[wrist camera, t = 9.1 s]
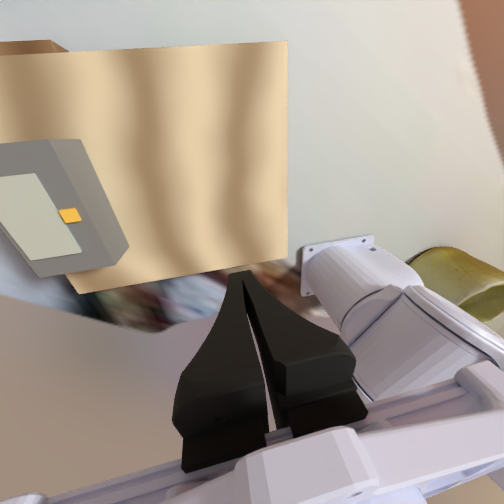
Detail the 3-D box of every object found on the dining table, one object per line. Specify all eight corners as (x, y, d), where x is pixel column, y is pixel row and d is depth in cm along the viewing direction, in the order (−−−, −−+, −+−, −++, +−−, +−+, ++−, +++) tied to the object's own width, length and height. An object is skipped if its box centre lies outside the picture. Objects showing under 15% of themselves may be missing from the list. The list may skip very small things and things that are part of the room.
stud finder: (80, 139, 13) (44, 139, 10) (129, 246, 17) (113, 267, 14) (-6, 147, 12) (-69, 149, 10) (66, 256, 16) (36, 280, 14)
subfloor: (272, 42, 15) (287, 17, 12) (277, 249, 24) (287, 265, 21) (-32, 57, 13) (-106, 32, 10) (101, 279, 22) (84, 302, 19)
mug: (481, 223, 25) (569, 294, 19) (452, 263, 33) (508, 322, 27) (379, 255, 28) (427, 326, 22) (374, 285, 36) (409, 344, 30)
